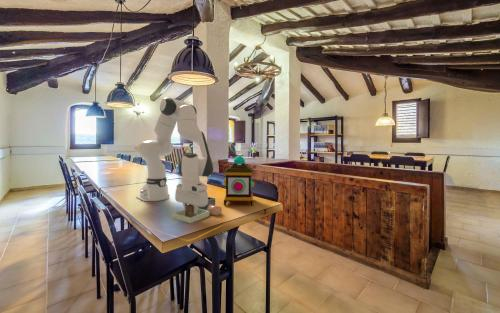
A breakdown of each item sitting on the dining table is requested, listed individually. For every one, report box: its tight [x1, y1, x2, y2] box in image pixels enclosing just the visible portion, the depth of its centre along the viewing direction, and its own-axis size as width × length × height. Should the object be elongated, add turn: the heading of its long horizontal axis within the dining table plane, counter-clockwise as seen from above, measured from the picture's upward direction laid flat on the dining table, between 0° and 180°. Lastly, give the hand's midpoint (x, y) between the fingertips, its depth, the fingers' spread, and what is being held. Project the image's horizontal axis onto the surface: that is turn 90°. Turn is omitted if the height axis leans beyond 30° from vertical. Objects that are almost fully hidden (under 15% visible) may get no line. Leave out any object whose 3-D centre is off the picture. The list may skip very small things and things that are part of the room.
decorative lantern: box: [223, 155, 256, 207], centre depth 150 cm, size 20×20×30 cm
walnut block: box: [184, 204, 197, 218], centre depth 121 cm, size 4×4×6 cm
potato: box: [207, 205, 222, 217], centre depth 126 cm, size 6×5×5 cm
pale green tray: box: [171, 208, 211, 224], centre depth 121 cm, size 13×13×3 cm
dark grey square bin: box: [198, 196, 216, 210], centre depth 133 cm, size 7×7×7 cm
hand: (191, 212), depth 121 cm, fingers closed on walnut block, 4 cm apart
